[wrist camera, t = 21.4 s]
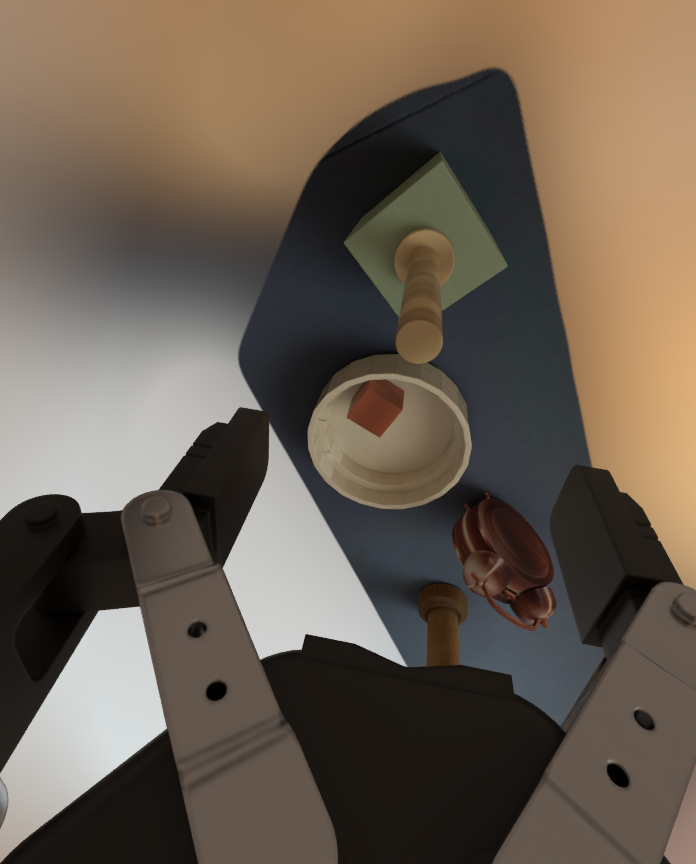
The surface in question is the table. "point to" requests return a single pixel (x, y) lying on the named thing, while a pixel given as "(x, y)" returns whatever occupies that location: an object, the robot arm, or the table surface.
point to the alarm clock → (505, 561)
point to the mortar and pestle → (442, 622)
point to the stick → (422, 292)
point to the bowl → (392, 436)
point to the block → (376, 405)
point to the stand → (426, 208)
